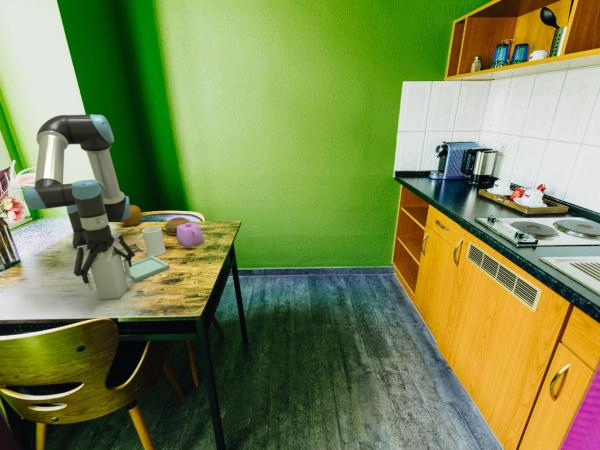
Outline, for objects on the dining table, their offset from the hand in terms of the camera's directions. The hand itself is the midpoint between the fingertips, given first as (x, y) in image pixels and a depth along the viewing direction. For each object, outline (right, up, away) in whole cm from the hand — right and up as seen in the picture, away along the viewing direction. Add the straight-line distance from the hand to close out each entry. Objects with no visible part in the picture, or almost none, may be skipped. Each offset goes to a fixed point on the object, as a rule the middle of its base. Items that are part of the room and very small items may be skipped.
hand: (111, 282), depth 110 cm
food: (+1, +17, +59) cm, 62 cm away
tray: (+3, +2, +19) cm, 19 cm away
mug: (-1, +7, +34) cm, 34 cm away
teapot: (+12, +12, +46) cm, 50 cm away
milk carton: (0, -5, +2) cm, 5 cm away
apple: (-33, +21, +72) cm, 82 cm away
